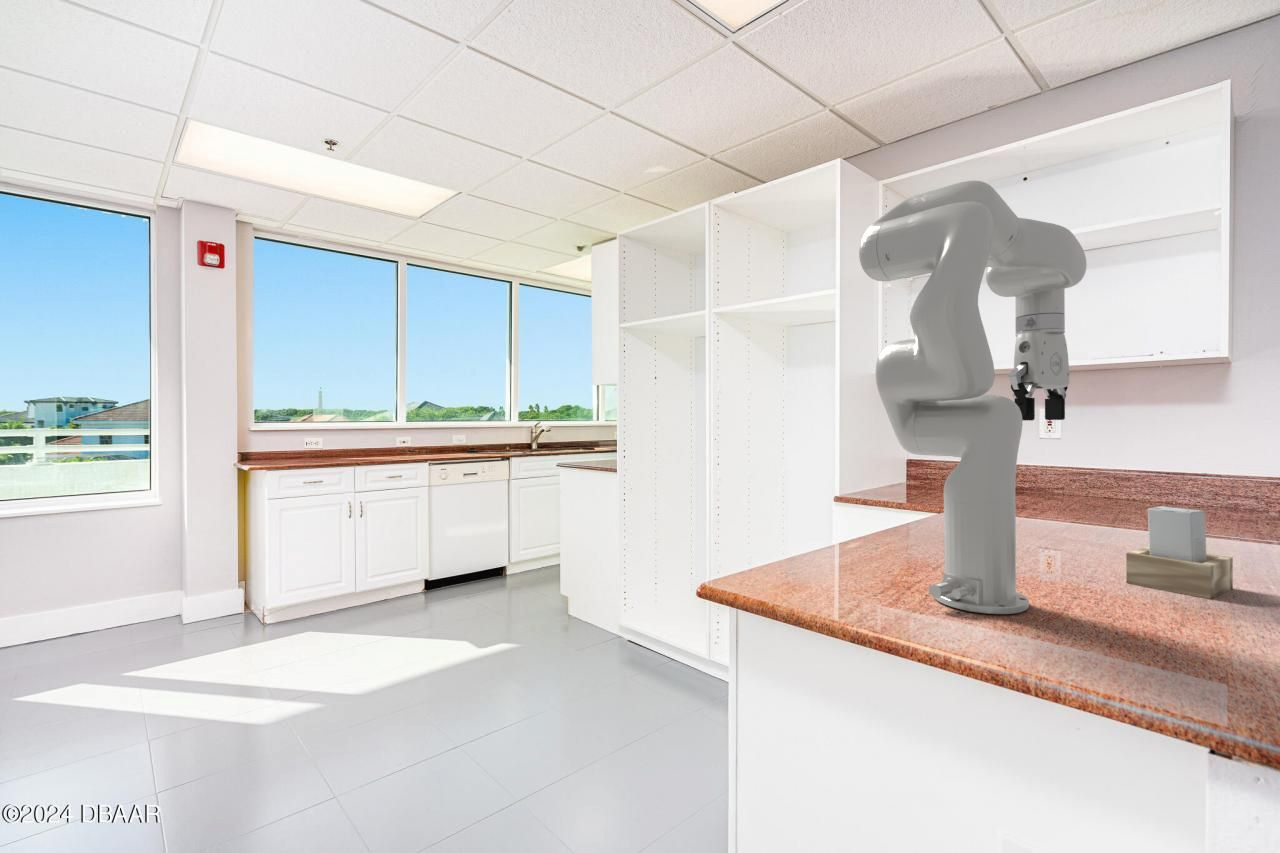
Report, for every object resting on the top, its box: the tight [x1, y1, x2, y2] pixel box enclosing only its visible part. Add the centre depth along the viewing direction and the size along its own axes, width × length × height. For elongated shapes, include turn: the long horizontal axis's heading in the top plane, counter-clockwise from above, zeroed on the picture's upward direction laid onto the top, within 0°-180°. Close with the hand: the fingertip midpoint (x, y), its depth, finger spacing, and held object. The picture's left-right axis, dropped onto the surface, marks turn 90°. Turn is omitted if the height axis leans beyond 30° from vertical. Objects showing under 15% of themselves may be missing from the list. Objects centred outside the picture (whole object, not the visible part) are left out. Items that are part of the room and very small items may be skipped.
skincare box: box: [1147, 505, 1207, 563], centre depth 97 cm, size 6×4×12 cm
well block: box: [1125, 545, 1234, 600], centre depth 98 cm, size 10×10×5 cm
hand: (1040, 420), depth 110 cm, fingers open, 9 cm apart
